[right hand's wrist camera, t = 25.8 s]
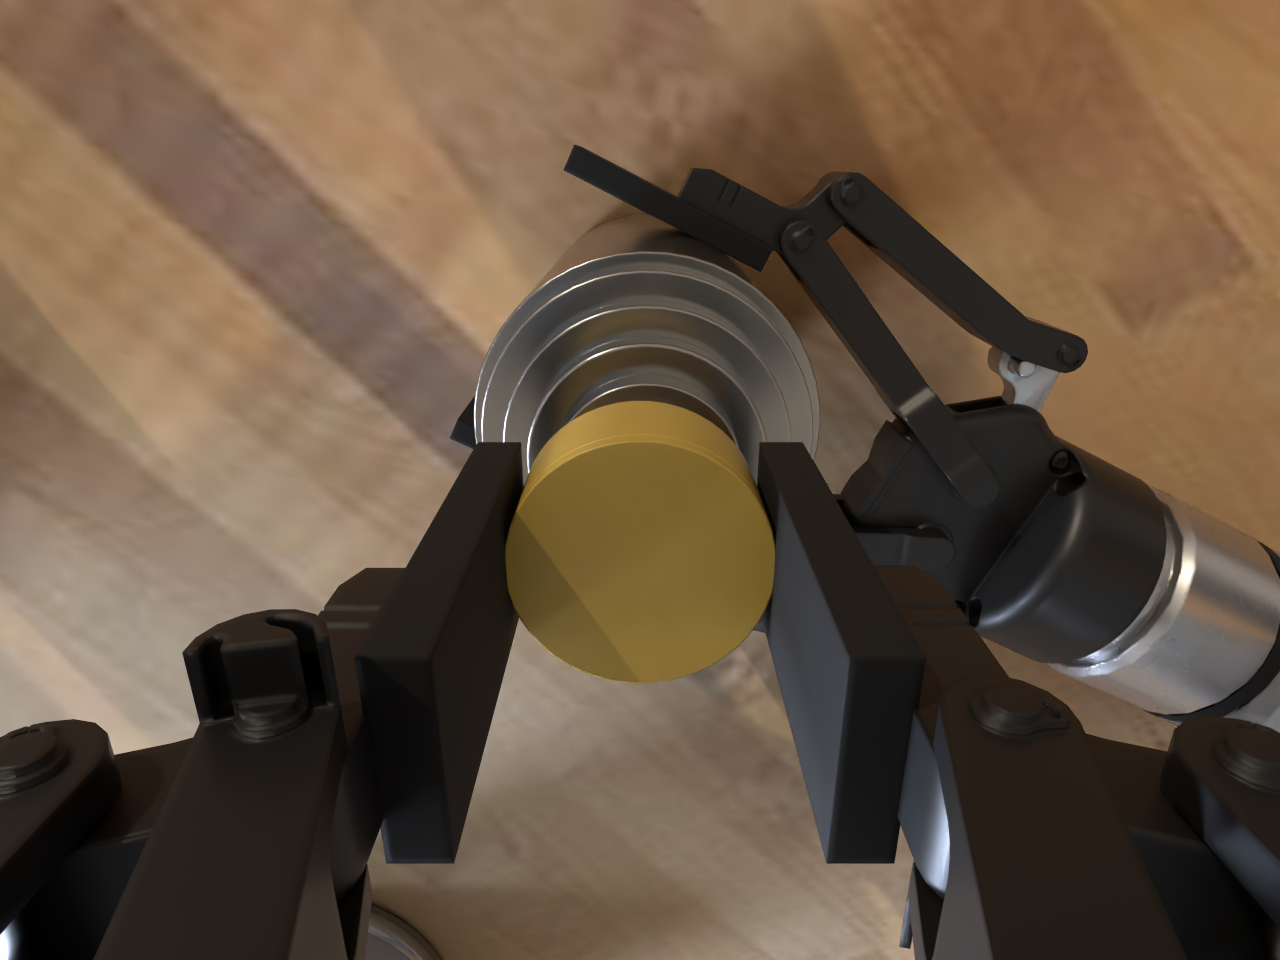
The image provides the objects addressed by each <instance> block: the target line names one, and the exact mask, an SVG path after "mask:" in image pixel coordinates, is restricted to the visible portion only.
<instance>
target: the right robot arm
mask: <svg viewBox="0 0 1280 960" xmlns="http://www.w3.org/2000/svg"><path fill="white" fill-rule="evenodd" d="M523 487H524V484H523V467H522V450H521V442H478V443H477V445H476V446H475V448H474V450H473V451H472V453H471V455H470V457H469V458H468V460H467V462H466V464H465V465H464V467H463V469H462V471H461V472H460V474H459V476H458V478H457V479H456V481H455V483H454V485H453V486H452V488H451V490H450V492H449V493H448V495H447V497H446V498H445V500H444V502H443V504H442V505H441V507H440V509H439V511H438V512H437V514H436V516H435V518H434V519H433V521H432V523H431V525H430V526H429V528H428V530H427V532H426V533H425V535H424V537H423V539H422V540H421V542H420V544H419V546H418V547H417V549H416V551H415V552H414V554H413V556H412V558H411V559H410V561H409V563H408V565H407V566H406V568H365V569H364V570H362V571H361V572H359V573H358V574H356V575H355V576H353V577H352V578H350V579H349V580H347V581H346V582H344V583H343V584H341V585H340V586H339V587H338V588H337V590H336V591H335V592H334V594H333V595H332V597H331V598H330V599H329V601H328V602H327V604H326V605H325V606H324V611H321V612H320V614H319V615H318V616H317V615H316V614H312V613H308V612H304V611H300V610H296V609H282V610H266V611H261V612H256V613H250V614H245V615H242V616H239V617H236V618H233V619H231V620H228V621H225V622H223V623H220V624H217V625H216V626H214V627H212V628H211V629H209V630H207V631H206V632H204V633H202V634H201V635H199V636H198V637H196V638H195V639H194V640H193V641H192V642H191V643H190V645H189V646H188V647H187V648H186V649H185V650H184V651H183V652H182V653H183V657H184V661H185V665H186V669H187V673H188V677H189V681H190V685H191V689H192V693H193V697H194V701H195V705H196V709H197V713H198V717H199V721H200V724H199V727H198V729H197V731H196V733H195V735H194V738H190V739H186V740H182V741H179V742H175V743H171V744H166V745H161V746H156V747H151V748H146V749H141V750H137V751H132V752H127V753H122V754H117V755H114V753H113V750H112V747H111V744H110V740H109V737H108V734H107V732H106V731H104V730H103V729H102V728H101V727H100V726H98V725H97V724H96V723H92V722H87V721H81V720H75V719H72V720H62V721H52V722H44V723H39V724H34V725H31V726H30V727H27V726H26V727H23V728H20V729H17V730H14V731H12V732H9V733H8V734H6V735H4V736H2V737H0V960H365V955H366V946H367V937H368V928H369V919H370V910H371V901H372V892H371V885H370V878H369V872H368V866H367V861H368V858H369V856H370V853H371V851H372V848H373V845H374V843H375V840H376V838H377V835H378V832H379V830H380V827H381V832H382V839H383V845H384V852H385V858H386V863H454V861H455V857H456V854H457V850H458V846H459V842H460V839H461V835H462V831H463V827H464V823H465V820H466V816H467V812H468V808H469V804H470V801H471V797H472V793H473V789H474V786H475V782H476V778H477V774H478V770H479V767H480V763H481V759H482V755H483V752H484V748H485V744H486V740H487V736H488V733H489V729H490V725H491V721H492V717H493V714H494V710H495V706H496V702H497V699H498V695H499V691H500V687H501V683H502V680H503V676H504V672H505V668H506V664H507V661H508V657H509V653H510V649H511V646H512V642H513V638H514V634H515V630H516V627H517V623H518V619H519V616H518V614H517V612H516V610H515V608H514V606H513V603H512V601H511V598H510V595H509V592H508V586H507V573H506V558H505V543H506V539H507V534H508V530H509V527H510V524H511V521H512V518H513V515H514V513H515V510H516V507H517V504H518V501H519V499H520V496H521V493H522V490H523ZM757 488H758V491H759V494H760V497H761V499H762V502H763V505H764V508H765V511H766V513H767V516H768V519H769V522H770V525H771V527H772V530H773V535H774V539H775V544H776V551H775V567H774V581H773V591H772V595H771V598H770V600H769V603H768V605H767V608H766V610H765V612H764V613H763V615H762V621H763V625H764V628H765V632H766V636H767V640H768V644H769V647H770V651H771V655H772V659H773V662H774V666H775V670H776V674H777V678H778V681H779V685H780V689H781V693H782V697H783V700H784V704H785V708H786V712H787V715H788V719H789V723H790V727H791V731H792V734H793V738H794V742H795V746H796V749H797V753H798V757H799V761H800V765H801V768H802V772H803V776H804V780H805V784H806V787H807V791H808V795H809V799H810V802H811V806H812V810H813V814H814V818H815V821H816V825H817V829H818V833H819V837H820V840H821V844H822V848H823V852H824V855H825V859H826V863H894V862H895V855H896V849H897V842H898V836H899V830H900V824H901V827H902V830H903V832H904V835H905V837H906V840H907V842H908V845H909V847H910V850H911V853H912V855H913V858H914V860H913V866H912V872H911V878H910V884H909V890H908V896H907V902H906V908H905V914H904V920H903V926H902V932H901V939H900V946H899V947H903V948H909V949H910V946H911V941H912V936H913V944H914V953H915V960H1280V733H1279V732H1277V731H1275V730H1274V729H1272V728H1270V727H1267V726H1264V725H1261V724H1258V723H1255V724H1254V723H1251V721H1246V720H1241V719H1236V718H1226V717H1215V716H1204V717H1198V718H1192V719H1186V720H1185V721H1184V722H1183V723H1182V724H1180V725H1179V726H1178V727H1177V728H1176V729H1174V733H1173V736H1172V739H1171V743H1170V746H1169V749H1168V752H1166V751H1161V750H1156V749H1152V748H1147V747H1142V746H1137V745H1132V744H1127V743H1122V742H1117V741H1112V740H1108V739H1104V738H1100V737H1096V736H1093V735H1089V734H1085V732H1084V730H1083V727H1082V725H1081V723H1080V721H1079V720H1078V719H1077V717H1076V716H1075V715H1074V713H1073V712H1072V711H1071V710H1070V708H1069V707H1068V706H1067V705H1066V704H1064V703H1063V702H1062V701H1060V700H1059V699H1057V698H1056V697H1054V696H1053V695H1052V694H1050V693H1049V692H1047V691H1045V690H1043V689H1040V688H1038V687H1036V686H1033V685H1031V684H1029V683H1026V682H1024V681H1021V680H1016V679H1012V678H1009V677H1008V675H1007V674H1006V672H1005V671H1004V670H1003V668H1002V667H1001V665H1000V664H999V663H998V661H997V660H996V658H995V657H994V656H993V654H992V653H991V651H990V650H989V649H988V647H987V646H986V644H985V643H984V642H983V640H982V639H981V637H980V636H979V635H978V633H977V632H976V630H975V629H974V628H973V626H969V621H968V619H967V618H966V616H965V615H964V614H963V612H962V611H961V609H960V608H957V604H956V602H955V601H954V599H953V598H952V597H951V595H950V594H949V592H948V591H947V590H946V588H945V587H944V585H943V584H942V583H941V582H939V581H938V580H936V579H935V578H933V577H932V576H930V575H929V574H927V573H926V572H924V571H922V570H921V569H919V568H918V567H916V566H915V565H873V564H872V562H871V560H870V558H869V557H868V555H867V553H866V551H865V550H864V548H863V546H862V545H861V543H860V541H859V539H858V538H857V536H856V534H855V532H854V531H853V529H852V527H851V525H850V524H849V522H848V520H847V518H846V517H845V515H844V513H843V511H842V510H841V508H840V506H839V504H838V503H837V501H836V499H835V498H834V496H833V494H832V492H831V491H830V489H829V487H828V485H827V484H826V482H825V480H824V478H823V477H822V475H821V473H820V471H819V470H818V468H817V466H816V464H815V463H814V461H813V459H812V457H811V456H810V454H809V452H808V451H807V449H806V447H805V445H804V444H803V442H759V459H758V476H757Z"/></svg>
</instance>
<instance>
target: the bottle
mask: <svg viewBox="0 0 1280 960" xmlns="http://www.w3.org/2000/svg"><path fill="white" fill-rule="evenodd" d="M628 401H653V402H660V403H667V404H671V405H674V406H678V407H682V408H684V409H687V410H689V411H691V412H694V413H696V414H698V415H700V416H702V417H703V418H705V419H707V420H708V421H710V422H712V423H713V424H714V425H715V426H717V427H718V428H719V429H721V430H722V431H723V432H724V433H725V434H726V435H727V436H728V437H729V438H730V439H731V440H732V441H733V442H734V443H735V445H736V446H737V447H738V449H739V450H740V451H741V453H742V454H743V456H744V458H745V459H746V461H747V463H748V465H749V467H750V469H751V472H752V475H753V477H754V480H755V483H756V485H757V476H758V459H759V442H803V444H804V445H805V447H806V449H807V451H808V452H809V454H810V456H811V457H812V459H813V461H814V457H815V453H816V449H817V445H818V437H819V428H820V402H819V396H818V389H817V383H816V379H815V375H814V372H813V369H812V365H811V362H810V359H809V357H808V355H807V353H806V350H805V348H804V346H803V344H802V342H801V340H800V338H799V336H798V335H797V333H796V332H795V330H794V329H793V327H792V326H791V324H790V322H789V321H788V320H787V318H786V317H785V316H784V315H783V314H782V313H781V311H780V310H779V309H778V308H777V307H776V306H775V304H774V303H773V302H772V301H771V300H770V299H769V298H768V297H767V296H766V295H765V294H764V292H763V291H762V290H761V289H760V288H759V287H758V286H757V285H756V284H755V283H754V282H753V281H752V280H751V279H750V277H749V276H748V275H747V274H746V273H745V272H744V271H743V270H742V269H741V268H740V267H739V266H738V265H737V264H736V262H735V261H734V260H733V259H732V258H731V257H730V256H729V255H727V254H725V253H723V252H721V251H719V250H717V249H715V248H714V247H712V246H710V245H708V244H706V243H704V242H702V241H700V240H698V239H696V238H694V237H692V236H690V235H688V234H686V233H684V232H683V231H681V230H679V229H677V228H675V227H673V226H671V225H669V224H667V223H665V222H663V221H661V220H659V219H657V218H655V217H653V216H652V215H650V214H637V215H628V216H624V217H620V218H616V219H613V220H610V221H608V222H605V223H603V224H601V225H599V226H597V227H596V228H594V229H592V230H590V231H589V232H587V233H586V234H585V235H584V236H582V237H581V238H580V239H578V240H577V241H576V242H575V243H574V244H573V245H572V246H571V247H570V248H569V249H568V251H567V252H566V253H565V254H564V255H563V256H562V257H561V258H560V260H559V261H558V262H557V263H556V264H555V265H554V266H553V267H552V269H551V270H550V271H549V272H548V273H547V274H546V275H545V276H544V278H543V279H542V280H541V281H540V282H539V283H538V284H537V285H536V287H535V288H534V289H533V290H532V291H531V292H530V293H529V294H528V296H527V297H526V298H525V299H524V300H523V301H522V302H521V303H520V305H519V306H518V307H517V308H516V309H515V310H514V312H513V313H512V314H511V315H510V317H509V318H508V319H507V321H506V322H505V323H504V325H503V326H502V327H501V329H500V330H499V332H498V334H497V336H496V338H495V339H494V341H493V343H492V345H491V346H490V348H489V351H488V353H487V356H486V358H485V361H484V363H483V366H482V369H481V372H480V376H479V381H478V385H477V389H476V397H475V407H474V425H475V438H476V443H478V442H521V450H522V467H523V484H524V485H525V482H526V479H527V476H528V474H529V471H530V469H531V467H532V464H533V463H534V461H535V459H536V457H537V456H538V454H539V452H540V451H541V450H542V448H543V447H544V446H545V445H546V443H547V442H548V441H549V440H550V439H551V438H552V437H553V436H554V435H555V434H556V433H557V432H558V431H559V430H560V429H561V428H563V427H564V426H565V425H567V424H568V423H569V422H571V421H572V420H574V419H576V418H578V417H579V416H581V415H583V414H585V413H587V412H589V411H592V410H594V409H597V408H599V407H602V406H606V405H610V404H614V403H620V402H628Z"/></svg>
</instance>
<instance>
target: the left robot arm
mask: <svg viewBox="0 0 1280 960" xmlns="http://www.w3.org/2000/svg"><path fill="white" fill-rule="evenodd" d="M564 171H566V172H568V173H570V174H572V175H574V176H576V177H578V178H580V179H582V180H584V181H586V182H588V183H590V184H592V185H594V186H595V187H597V188H599V189H601V190H603V191H605V192H607V193H609V194H611V195H613V196H615V197H617V198H619V199H621V200H623V201H624V202H626V203H628V204H630V205H632V206H634V207H636V208H638V209H640V210H642V211H644V212H646V213H648V214H650V215H652V216H653V217H655V218H657V219H659V220H661V221H663V222H665V223H667V224H669V225H671V226H673V227H675V228H677V229H679V230H681V231H683V232H684V233H686V234H688V235H690V236H692V237H694V238H696V239H698V240H700V241H702V242H704V243H706V244H708V245H710V246H712V247H714V248H715V249H717V250H719V251H721V252H723V253H725V254H727V255H729V256H731V257H733V258H735V259H737V260H739V261H741V262H743V263H744V264H746V265H748V266H750V267H752V268H754V269H756V270H758V271H760V272H761V270H762V269H763V267H764V265H765V263H766V261H767V259H768V257H769V255H770V254H771V252H772V250H774V251H776V252H777V253H778V255H779V256H780V257H781V259H782V260H783V262H784V263H785V264H786V266H787V267H788V268H789V270H790V271H791V273H792V274H793V275H794V277H795V278H796V279H797V281H798V282H799V284H800V285H801V286H802V288H803V289H804V290H805V292H806V293H807V295H808V296H809V297H810V299H811V300H812V302H813V303H814V304H815V306H816V307H817V308H818V310H819V311H820V313H821V314H822V315H823V317H824V318H825V319H826V321H827V322H828V324H829V325H830V326H831V328H832V329H833V330H834V332H835V333H836V335H837V336H838V337H839V339H840V340H841V341H842V343H843V344H844V346H845V347H846V348H847V350H848V351H849V352H850V354H851V355H852V357H853V358H854V359H855V361H856V362H857V363H858V365H859V366H860V368H861V369H862V370H863V372H864V373H865V374H866V376H867V377H868V379H869V380H870V381H871V383H872V384H873V386H874V387H875V388H876V391H877V392H878V394H879V395H880V397H881V398H882V399H883V401H884V402H885V404H886V405H887V406H888V408H889V409H890V410H891V412H892V413H893V415H894V416H895V417H896V419H895V420H894V421H893V422H892V423H891V422H889V421H887V420H886V422H885V423H884V425H883V426H882V428H881V430H880V431H879V433H878V434H877V436H876V437H875V440H874V443H873V446H872V449H871V452H870V455H869V458H868V460H867V461H866V462H865V463H864V464H863V465H862V466H861V467H860V468H859V469H858V470H857V471H856V472H855V473H854V474H853V475H852V476H851V477H850V479H849V480H848V482H847V484H846V485H845V487H844V488H843V490H842V491H841V494H833V496H834V498H835V499H836V501H837V503H838V504H839V506H840V508H841V510H842V511H843V513H844V515H845V517H846V518H847V520H848V522H849V524H850V525H851V527H852V529H853V531H854V532H855V534H856V536H857V538H858V539H859V541H860V543H861V545H862V546H863V548H864V550H865V551H866V553H867V555H868V557H869V558H870V560H871V562H872V564H873V565H915V566H916V567H918V568H919V569H921V570H922V571H924V572H926V573H927V574H929V575H930V576H932V577H933V578H935V579H936V580H938V581H939V582H941V583H942V584H943V585H944V587H945V588H946V590H947V591H948V592H949V594H950V595H951V597H952V598H953V599H954V601H955V602H956V604H957V608H960V609H961V611H962V612H963V614H964V615H965V616H966V618H967V619H968V621H969V626H973V628H974V629H975V630H976V632H977V633H978V635H980V636H982V637H984V638H986V639H988V640H991V641H993V642H995V643H997V644H999V645H1001V646H1004V647H1006V648H1008V649H1010V650H1012V651H1015V652H1017V653H1019V654H1021V655H1023V656H1026V657H1028V658H1030V659H1032V660H1035V661H1038V662H1042V663H1045V664H1047V665H1048V666H1050V667H1051V668H1053V669H1054V670H1056V671H1057V672H1059V673H1061V674H1064V675H1066V676H1068V677H1070V678H1073V679H1075V680H1077V681H1080V682H1082V683H1084V684H1087V685H1089V686H1091V687H1093V688H1096V689H1098V690H1100V691H1103V692H1105V693H1107V694H1109V695H1112V696H1114V697H1116V698H1119V699H1121V700H1123V701H1125V702H1128V703H1130V704H1132V705H1135V706H1137V707H1139V708H1141V709H1143V710H1144V711H1146V712H1148V713H1151V714H1153V715H1155V716H1157V717H1161V718H1163V719H1165V720H1167V721H1169V722H1171V723H1173V724H1175V725H1177V726H1179V725H1180V724H1182V723H1183V722H1184V721H1185V720H1186V719H1192V718H1198V717H1204V716H1215V717H1226V718H1236V719H1241V720H1246V721H1251V723H1254V724H1255V723H1258V724H1261V725H1264V726H1267V727H1270V728H1272V729H1274V730H1275V731H1277V732H1279V733H1280V553H1278V552H1276V551H1273V550H1271V549H1270V548H1269V547H1267V546H1266V545H1264V544H1262V543H1261V542H1259V541H1257V540H1256V539H1255V538H1253V537H1251V536H1249V535H1247V534H1245V533H1243V532H1241V531H1239V530H1237V529H1235V528H1233V527H1231V526H1229V525H1228V524H1226V523H1224V522H1222V521H1220V520H1218V519H1216V518H1214V517H1212V516H1210V515H1208V514H1206V513H1204V512H1203V511H1201V510H1199V509H1197V508H1195V507H1193V506H1191V505H1189V504H1187V503H1185V502H1183V501H1181V500H1179V499H1177V498H1176V497H1174V496H1172V495H1170V494H1168V493H1165V492H1163V491H1161V490H1158V489H1156V488H1153V487H1149V486H1148V485H1147V484H1146V483H1144V482H1143V481H1142V480H1140V479H1138V478H1136V477H1135V476H1133V475H1131V474H1129V473H1127V472H1125V471H1123V470H1121V469H1119V468H1117V467H1115V466H1113V465H1111V464H1109V463H1107V462H1105V461H1104V460H1102V459H1100V458H1098V457H1096V456H1094V455H1092V454H1090V453H1088V452H1086V451H1084V450H1082V449H1080V448H1078V447H1076V446H1074V445H1072V444H1071V443H1069V442H1067V441H1065V440H1063V439H1061V438H1059V437H1057V436H1055V435H1054V434H1053V433H1052V431H1051V430H1050V428H1049V427H1048V425H1047V423H1046V421H1045V419H1044V417H1043V416H1042V415H1041V414H1040V413H1039V412H1040V410H1041V408H1042V406H1043V404H1044V402H1045V400H1046V398H1047V396H1048V394H1049V392H1050V390H1051V388H1052V386H1053V384H1054V382H1055V381H1056V379H1057V377H1058V375H1059V373H1060V372H1062V373H1068V372H1072V371H1074V370H1076V369H1077V368H1079V367H1080V366H1081V365H1082V364H1083V363H1084V361H1085V360H1086V357H1087V354H1088V349H1087V344H1086V343H1085V341H1084V340H1083V339H1082V338H1080V337H1078V336H1076V335H1074V334H1071V333H1069V332H1066V331H1064V330H1061V329H1059V328H1056V327H1054V326H1051V325H1048V324H1046V323H1043V322H1041V321H1038V320H1035V319H1032V318H1028V317H1025V316H1024V315H1023V314H1022V313H1020V312H1019V311H1018V310H1017V309H1016V308H1015V307H1014V306H1012V305H1011V304H1010V303H1009V302H1008V301H1007V300H1006V299H1004V298H1003V297H1002V296H1001V295H1000V294H999V293H998V292H996V291H995V290H994V289H993V288H992V287H991V286H990V285H988V284H987V283H986V282H985V281H984V280H983V279H982V278H980V277H979V276H978V275H977V274H976V273H975V272H974V271H973V270H971V269H970V268H969V267H968V266H967V265H966V264H965V263H963V262H962V261H961V260H960V259H959V258H958V257H957V256H955V255H954V254H953V253H952V252H951V251H950V250H949V249H947V248H946V247H945V246H944V245H943V244H942V243H941V242H939V241H938V240H937V239H936V238H935V237H934V236H933V235H931V234H930V233H929V232H928V231H927V230H926V229H925V228H923V227H922V226H921V225H920V224H919V223H918V222H917V221H916V220H914V219H913V218H912V217H911V216H910V215H909V214H908V213H906V212H905V211H904V210H903V209H902V208H901V207H900V206H898V205H897V204H896V203H895V202H894V201H893V200H892V199H890V198H889V197H888V196H887V195H886V194H885V193H884V192H882V191H881V190H880V189H879V188H878V187H877V186H876V185H874V184H873V183H872V182H871V181H870V180H869V179H868V178H867V177H865V176H863V175H861V174H860V173H852V172H831V173H828V174H825V175H824V176H823V177H822V178H821V179H820V180H819V182H818V184H817V185H816V187H814V188H813V189H812V190H811V191H810V192H809V193H808V194H807V195H806V196H805V197H804V198H803V199H802V200H800V201H799V202H798V203H796V204H794V205H792V206H786V207H783V206H779V205H777V204H775V203H773V202H771V201H770V200H768V199H766V198H764V197H762V196H760V195H758V194H756V193H755V192H753V191H751V190H749V189H747V188H745V187H743V186H741V185H740V184H738V183H736V182H734V181H732V180H730V179H728V178H726V177H725V176H723V175H721V174H719V173H717V172H715V171H713V170H710V169H698V168H691V169H690V171H689V173H688V175H687V177H686V179H685V182H684V184H683V186H682V188H681V190H680V192H679V194H678V196H677V197H676V196H674V195H673V194H671V193H669V192H667V191H665V190H663V189H661V188H659V187H657V186H655V185H653V184H652V183H650V182H648V181H646V180H644V179H642V178H640V177H638V176H636V175H634V174H632V173H631V172H629V171H627V170H625V169H623V168H621V167H619V166H617V165H615V164H613V163H611V162H610V161H608V160H606V159H604V158H602V157H600V156H598V155H596V154H594V153H592V152H590V151H589V150H587V149H585V148H583V147H581V146H577V145H574V147H573V149H572V151H571V154H570V156H569V159H568V161H567V163H566V166H565V168H564ZM841 226H843V227H845V228H846V229H847V230H848V231H849V232H850V233H852V234H853V235H854V236H855V237H856V238H857V239H859V240H860V241H861V242H862V243H863V244H865V245H866V246H867V247H868V248H869V249H870V250H872V251H873V252H874V253H875V254H876V255H877V256H879V257H880V258H881V259H882V260H883V261H884V262H886V263H887V264H888V265H889V266H890V267H892V268H893V269H894V270H895V271H896V272H897V273H899V274H900V275H901V276H902V277H903V278H904V279H906V280H907V281H908V282H909V283H910V284H911V285H913V286H914V287H915V288H916V289H917V290H919V291H920V292H921V293H922V294H923V295H924V296H926V297H927V298H928V299H929V300H930V301H931V302H933V303H934V304H935V305H936V306H937V307H938V308H940V309H941V310H942V311H943V312H944V313H946V314H947V315H948V316H949V317H950V318H951V319H953V320H954V321H955V322H956V323H957V324H958V325H960V326H961V327H962V328H963V329H965V330H966V331H967V332H969V333H970V334H972V335H973V336H975V337H977V338H979V339H981V340H982V341H984V342H986V343H988V344H990V345H992V347H991V348H990V350H989V353H988V365H989V367H990V369H991V370H992V371H993V372H995V373H996V374H997V375H999V376H1000V377H1001V379H1002V380H1003V384H1004V391H1003V394H1002V396H996V397H990V398H984V399H978V400H971V401H965V402H959V403H953V404H947V405H944V404H943V403H942V401H941V400H940V399H939V397H938V396H937V395H936V394H935V392H934V391H933V390H932V389H931V388H930V387H929V386H928V384H927V383H926V382H925V380H924V379H923V378H922V376H921V375H920V373H919V372H918V370H917V369H916V368H915V366H914V365H913V363H912V362H911V360H910V359H909V358H908V356H907V355H906V353H905V352H904V350H903V349H902V348H901V346H900V345H899V343H898V342H897V340H896V339H895V338H894V336H893V335H892V333H891V332H890V330H889V329H888V328H887V326H886V325H885V323H884V322H883V320H882V319H881V318H880V316H879V315H878V313H877V312H876V310H875V309H874V308H873V306H872V305H871V303H870V302H869V300H868V299H867V298H866V296H865V295H864V293H863V292H862V291H861V289H860V288H859V286H858V285H857V283H856V282H855V281H854V279H853V278H852V276H851V275H850V273H849V272H848V271H847V269H846V268H845V266H844V265H843V263H842V262H841V261H840V259H839V258H838V256H837V255H836V253H835V252H834V251H833V249H832V248H831V246H830V245H829V243H828V242H827V241H826V240H827V239H828V238H829V237H830V236H831V235H833V234H834V233H835V232H836V231H837V230H838V229H839V228H840V227H841ZM475 397H476V396H474V398H473V399H472V401H471V402H470V403H469V405H468V406H467V407H466V409H465V410H464V411H463V413H462V414H461V416H460V417H459V418H458V421H457V423H456V425H455V428H454V430H453V432H452V435H451V437H450V439H452V440H455V441H457V442H459V443H461V444H464V445H466V446H468V447H470V448H473V449H474V448H475V446H476V445H477V443H476V438H475V425H474V407H475ZM753 630H756V631H760V632H764V633H766V632H765V628H764V625H763V621H762V617H761V619H760V621H759V622H758V624H757V625H756V626H755V628H754V629H753ZM365 960H440V959H439V957H438V956H437V954H436V953H435V951H434V950H433V949H432V947H431V946H430V945H429V944H428V943H427V942H426V940H424V939H423V938H422V937H421V936H420V935H419V934H418V933H417V932H416V931H415V930H413V929H412V928H411V927H410V926H409V925H407V924H406V923H404V922H403V921H401V920H400V919H398V918H397V917H395V916H393V915H391V914H389V913H388V912H386V911H384V910H382V909H379V908H377V907H375V906H373V905H371V910H370V919H369V928H368V937H367V946H366V955H365Z"/></svg>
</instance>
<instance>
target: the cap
mask: <svg viewBox="0 0 1280 960" xmlns="http://www.w3.org/2000/svg"><path fill="white" fill-rule="evenodd" d="M775 551H776V544H775V539H774V535H773V530H772V527H771V525H770V522H769V519H768V516H767V513H766V511H765V508H764V505H763V502H762V499H761V497H760V494H759V491H758V488H757V485H756V483H755V480H754V477H753V475H752V472H751V469H750V467H749V465H748V463H747V461H746V459H745V458H744V456H743V454H742V453H741V451H740V450H739V449H738V447H737V446H736V445H735V443H734V442H733V441H732V440H731V439H730V438H729V437H728V436H727V435H726V434H725V433H724V432H723V431H722V430H721V429H719V428H718V427H717V426H715V425H714V424H713V423H712V422H710V421H708V420H707V419H705V418H703V417H702V416H700V415H698V414H696V413H694V412H691V411H689V410H687V409H684V408H682V407H678V406H674V405H671V404H667V403H660V402H653V401H628V402H620V403H614V404H610V405H606V406H602V407H599V408H597V409H594V410H592V411H589V412H587V413H585V414H583V415H581V416H579V417H578V418H576V419H574V420H572V421H571V422H569V423H568V424H567V425H565V426H564V427H563V428H561V429H560V430H559V431H558V432H557V433H556V434H555V435H554V436H553V437H552V438H551V439H550V440H549V441H548V442H547V443H546V445H545V446H544V447H543V448H542V450H541V451H540V452H539V454H538V456H537V457H536V459H535V461H534V463H533V464H532V467H531V469H530V471H529V474H528V476H527V479H526V482H525V485H524V487H523V490H522V493H521V496H520V499H519V501H518V504H517V507H516V510H515V513H514V515H513V518H512V521H511V524H510V527H509V530H508V534H507V539H506V543H505V558H506V573H507V586H508V592H509V595H510V598H511V601H512V603H513V606H514V608H515V610H516V612H517V614H518V616H519V617H520V619H521V621H522V622H523V624H524V625H525V627H526V628H527V629H528V631H529V632H530V634H531V635H532V636H533V637H534V638H535V639H536V640H537V641H538V642H539V643H540V644H541V645H542V646H543V647H544V648H545V649H547V650H548V651H549V652H550V653H551V654H553V655H554V656H555V657H557V658H558V659H560V660H562V661H563V662H565V663H566V664H568V665H570V666H572V667H574V668H576V669H578V670H580V671H582V672H585V673H588V674H591V675H593V676H596V677H600V678H604V679H608V680H612V681H619V682H628V683H653V682H662V681H668V680H673V679H677V678H681V677H684V676H687V675H690V674H693V673H696V672H698V671H701V670H703V669H705V668H707V667H709V666H711V665H713V664H714V663H716V662H718V661H719V660H721V659H723V658H724V657H726V656H727V655H728V654H729V653H731V652H732V651H733V650H734V649H736V648H737V647H738V646H739V645H740V644H741V643H742V642H743V641H744V640H745V639H746V638H747V637H748V636H749V634H750V633H751V632H752V630H753V629H754V628H755V626H756V625H757V624H758V622H759V621H760V619H761V617H762V615H763V613H764V612H765V610H766V608H767V605H768V603H769V600H770V598H771V595H772V591H773V581H774V567H775Z"/></svg>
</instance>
